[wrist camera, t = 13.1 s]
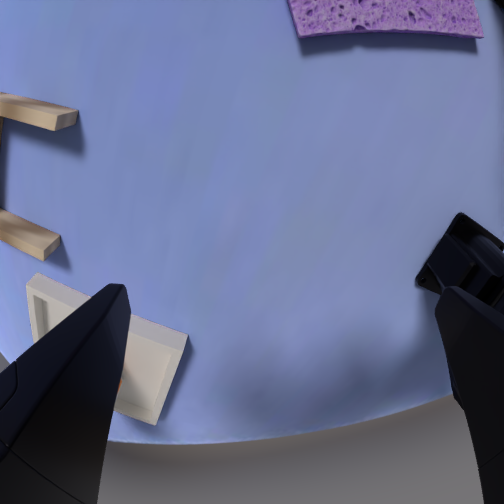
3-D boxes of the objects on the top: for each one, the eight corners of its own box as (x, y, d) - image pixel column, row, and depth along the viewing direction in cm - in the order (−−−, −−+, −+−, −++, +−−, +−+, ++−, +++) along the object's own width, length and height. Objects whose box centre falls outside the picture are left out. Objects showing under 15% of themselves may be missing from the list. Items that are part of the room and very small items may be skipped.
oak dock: (78, 110, 17) (57, 115, 15) (59, 245, 22) (43, 261, 20) (0, 92, 16) (-22, 96, 14) (-9, 213, 21) (-26, 225, 19)
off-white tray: (188, 334, 26) (183, 351, 24) (159, 412, 33) (155, 425, 31) (37, 271, 24) (26, 284, 22) (47, 365, 31) (40, 376, 29)
